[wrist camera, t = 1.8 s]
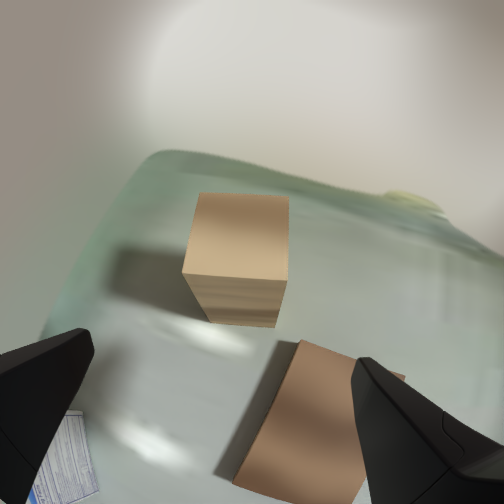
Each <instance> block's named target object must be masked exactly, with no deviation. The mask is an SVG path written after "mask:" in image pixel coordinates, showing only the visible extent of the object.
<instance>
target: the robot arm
mask: <svg viewBox="0 0 504 504" xmlns="http://www.w3.org/2000/svg"><path fill="white" fill-rule="evenodd" d="M93 356H94V346H93V342H92V338H91V334H90V332H89V331H88V330H87V329H83V328H76V329H74V330H71V331H68V332H65V333H62V334H59V335H56V336H53V337H50V338H48V339H45V340H42V341H39V342H36V343H33V344H30V345H27V346H24V347H21V348H19V349H15V350H12V351H9V352H6V353H4V354H2V355H1V354H0V499H1V500H2V501H4V502H5V503H6V504H26V502H27V499H28V496H29V494H30V491H31V489H32V486H33V484H34V481H35V479H36V476H37V474H38V473H37V472H38V471H39V469H40V466H41V464H42V462H43V460H44V457H45V455H46V453H47V451H48V449H49V447H50V444H51V442H52V440H53V438H54V436H55V434H56V432H57V430H58V428H59V426H60V424H61V422H62V420H63V418H64V416H65V414H66V412H67V410H68V408H69V407H70V405H71V403H72V401H73V399H74V397H75V395H76V394H77V392H78V390H79V388H80V386H81V384H82V381H83V379H84V377H85V374H86V372H87V370H88V367H89V365H90V363H91V361H92V358H93ZM351 391H352V399H353V408H354V417H355V424H356V429H357V433H358V437H359V442H360V446H361V451H362V456H363V460H364V465H365V470H366V475H367V480H368V486H369V491H370V496H371V502H372V504H504V446H503V445H501V444H499V443H497V442H495V441H493V440H491V439H490V438H488V437H486V436H484V435H482V434H480V433H479V432H477V431H475V430H473V429H472V428H470V427H468V426H466V425H465V424H463V423H462V422H460V421H459V420H457V419H456V418H454V417H453V416H451V415H450V414H448V413H447V412H446V411H443V409H441V408H440V407H438V406H437V405H436V404H434V403H433V402H431V401H430V400H429V399H427V398H426V397H424V396H423V395H422V394H420V393H419V392H417V391H416V390H415V389H413V388H412V387H410V386H409V385H408V384H406V383H405V382H404V381H402V380H401V379H399V378H398V377H397V376H395V375H394V374H392V373H391V372H390V371H388V370H387V369H386V368H384V367H383V366H381V365H380V364H379V363H377V362H376V361H375V360H373V359H372V358H370V357H360V358H358V359H357V360H356V363H355V366H354V370H353V373H352V376H351Z"/></svg>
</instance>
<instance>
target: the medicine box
mask: <svg viewBox="0 0 504 504" xmlns="http://www.w3.org/2000/svg"><path fill="white" fill-rule="evenodd" d="M37 473H38V474H37V476H36V479H35V481H34V484H33V486H32V489H31V491H30V494H29V496H28V499H27V502H26V504H74V503H76V502H79V501H81V500H83V499H85V498H87V497H90V496H92V495H94V494H96V493H98V492H99V487H98V484H97V480H96V477H95V473H94V469H93V465H92V461H91V456H90V452H89V447H88V442H87V437H86V431H85V425H84V419H83V412H82V411H75V410H67V412H66V414H65V416H64V418H63V420H62V422H61V424H60V426H59V428H58V430H57V432H56V434H55V436H54V438H53V440H52V442H51V444H50V447H49V449H48V451H47V453H46V455H45V457H44V460H43V462H42V464H41V466H40V469H39V471H38V472H37Z"/></svg>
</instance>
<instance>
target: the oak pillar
mask: <svg viewBox="0 0 504 504" xmlns="http://www.w3.org/2000/svg"><path fill="white" fill-rule="evenodd" d="M288 234H289V197H287V196H272V195H255V194H233V193H203V192H200V194H199V198H198V202H197V206H196V210H195V214H194V219H193V223H192V227H191V232H190V236H189V241H188V245H187V250H186V255H185V260H184V265H183V270H182V274H183V276H184V278H185V280H186V281H187V283H188V285H189V287H190V288H191V290H192V292H193V294H194V295H195V297H196V299H197V301H198V302H199V304H200V306H201V307H202V309H203V311H204V312H205V314H206V316H207V317H208V319H209V321H210V322H211V323H217V324H228V325H240V326H253V327H268V328H275V325H276V322H277V318H278V314H279V311H280V307H281V303H282V300H283V296H284V292H285V288H286V285H287V281H288Z"/></svg>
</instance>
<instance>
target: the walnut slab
mask: <svg viewBox="0 0 504 504" xmlns="http://www.w3.org/2000/svg"><path fill="white" fill-rule="evenodd" d="M355 363H356V359H353V358H350V357H347V356H345V355H342V354H339V353H336V352H333V351H331V350H328V349H325V348H323V347H320V346H317V345H315V344H312V343H309V342H307V341H304V340H302V339H301V340H300V342H299V343H298V345H297V347H296V350H295V352H294V354H293V357H292V359H291V362H290V364H289V366H288V368H287V371H286V373H285V375H284V378H283V380H282V382H281V384H280V387H279V389H278V391H277V393H276V395H275V397H274V400H273V402H272V404H271V406H270V408H269V410H268V412H267V414H266V416H265V418H264V421H263V423H262V425H261V427H260V429H259V431H258V433H257V435H256V437H255V439H254V440H253V442H252V444H251V446H250V448H249V450H248V452H247V454H246V456H245V458H244V460H243V461H242V463H241V465H240V467H239V469H238V470H237V472H236V474H235V476H234V478H233V481H232V484H234V485H236V486H239V487H242V488H244V489H247V490H250V491H253V492H256V493H259V494H262V495H265V496H268V497H272V498H275V499H278V500H282V501H286V502H289V503H293V504H352V502H353V500H354V498H355V497H356V495H357V493H358V491H359V489H360V488H361V486H362V484H363V482H364V480H365V478H366V476H367V475H366V470H365V465H364V460H363V456H362V451H361V446H360V442H359V437H358V433H357V429H356V424H355V417H354V408H353V399H352V391H351V376H352V373H353V370H354V366H355ZM388 371H389V370H388ZM390 372H391V373H392V374H394V375H395V376H397V377H398V378H399V379H401V380H402V381H404V380H405V376H404V375H401V374H398V373H395V372H392V371H390Z"/></svg>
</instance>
